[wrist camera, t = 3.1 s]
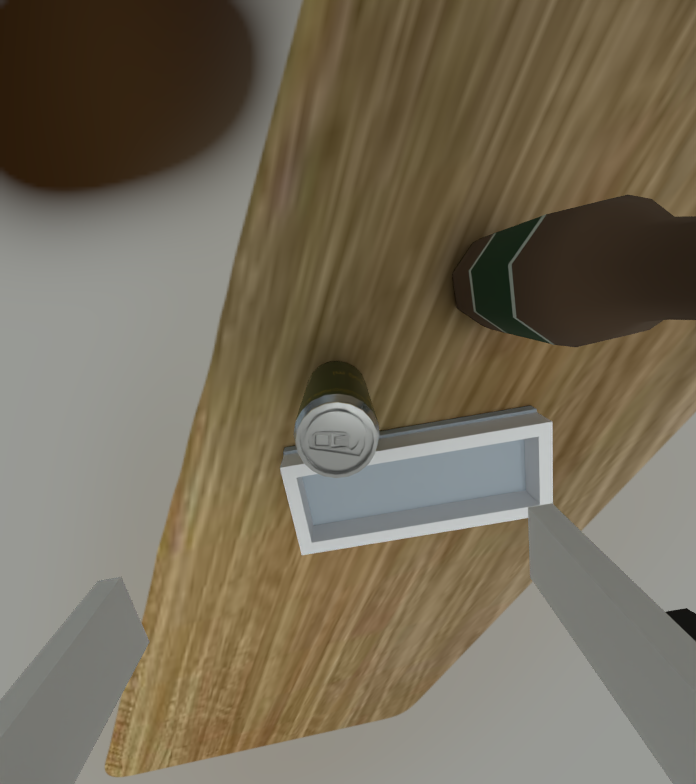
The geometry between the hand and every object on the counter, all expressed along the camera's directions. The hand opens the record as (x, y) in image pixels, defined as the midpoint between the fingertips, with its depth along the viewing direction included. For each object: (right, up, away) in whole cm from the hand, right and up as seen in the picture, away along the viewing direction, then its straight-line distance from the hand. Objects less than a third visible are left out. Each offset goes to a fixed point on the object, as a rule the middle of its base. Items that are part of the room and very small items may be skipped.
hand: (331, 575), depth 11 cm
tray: (+7, -2, +24) cm, 25 cm away
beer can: (-1, +6, +21) cm, 22 cm away
